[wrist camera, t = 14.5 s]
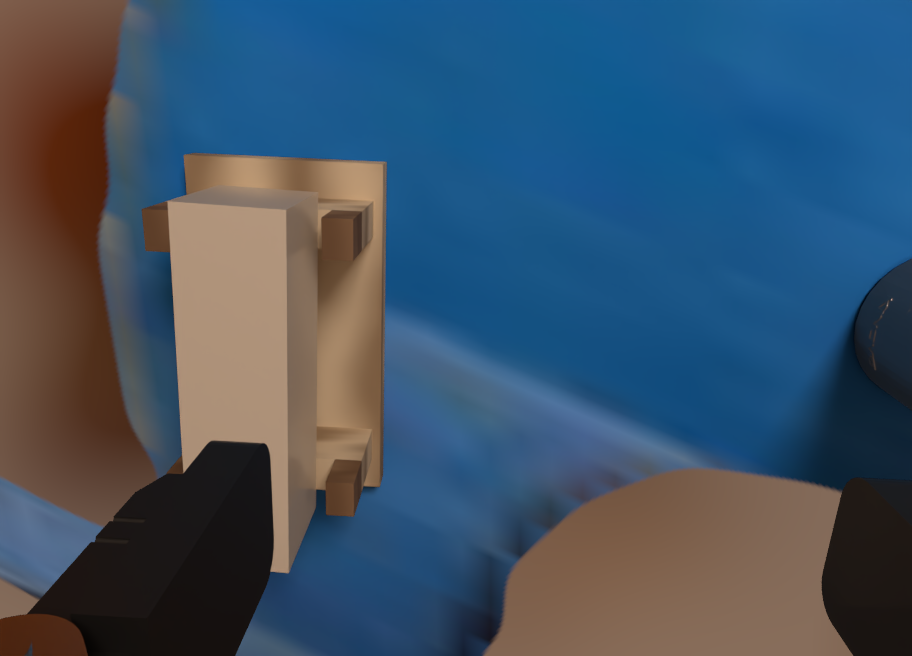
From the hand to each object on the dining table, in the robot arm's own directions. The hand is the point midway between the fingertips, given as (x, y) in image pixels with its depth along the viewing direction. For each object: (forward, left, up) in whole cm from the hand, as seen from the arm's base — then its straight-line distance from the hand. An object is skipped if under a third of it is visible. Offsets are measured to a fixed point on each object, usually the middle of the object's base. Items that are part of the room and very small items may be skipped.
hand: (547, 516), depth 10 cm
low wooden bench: (+12, +8, -32) cm, 35 cm away
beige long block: (+12, +8, -27) cm, 30 cm away
